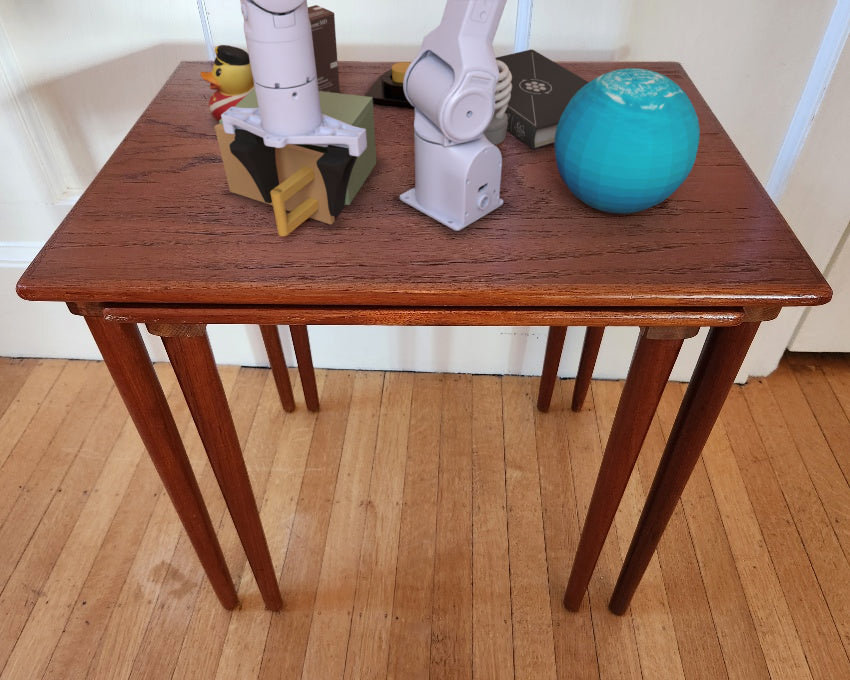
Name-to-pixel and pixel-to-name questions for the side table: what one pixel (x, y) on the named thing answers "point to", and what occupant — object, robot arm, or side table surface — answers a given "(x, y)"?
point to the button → (399, 71)
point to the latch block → (388, 92)
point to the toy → (228, 79)
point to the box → (324, 48)
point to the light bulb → (500, 106)
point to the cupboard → (349, 112)
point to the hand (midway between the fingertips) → (304, 204)
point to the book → (537, 96)
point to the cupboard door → (282, 183)
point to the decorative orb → (627, 141)
